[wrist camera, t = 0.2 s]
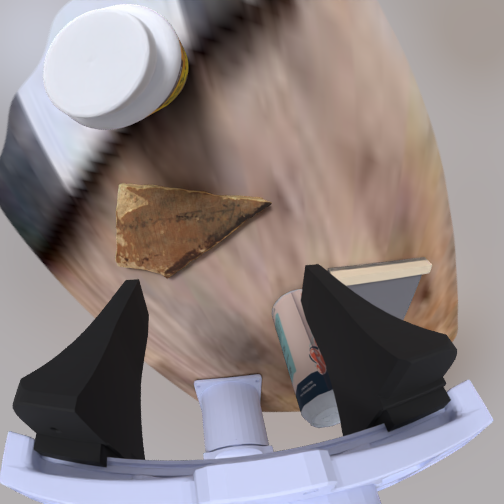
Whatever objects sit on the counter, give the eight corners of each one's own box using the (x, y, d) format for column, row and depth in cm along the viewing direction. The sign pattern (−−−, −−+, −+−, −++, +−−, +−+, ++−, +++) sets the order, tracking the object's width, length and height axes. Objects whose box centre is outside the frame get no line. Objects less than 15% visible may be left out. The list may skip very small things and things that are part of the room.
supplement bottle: (184, 113, 17) (165, 143, 9) (103, 113, 16) (22, 148, 8) (195, 33, 14) (188, -17, 6) (111, 34, 13) (34, 3, 5)
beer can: (327, 303, 28) (376, 406, 18) (288, 329, 30) (322, 434, 20) (302, 276, 26) (355, 390, 16) (260, 305, 27) (291, 423, 17)
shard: (268, 194, 22) (273, 204, 20) (245, 277, 26) (248, 290, 24) (122, 175, 19) (115, 183, 18) (119, 263, 23) (115, 276, 21)
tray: (398, 324, 33) (403, 332, 32) (312, 341, 31) (316, 351, 30) (424, 257, 28) (432, 265, 26) (328, 268, 26) (334, 278, 25)
